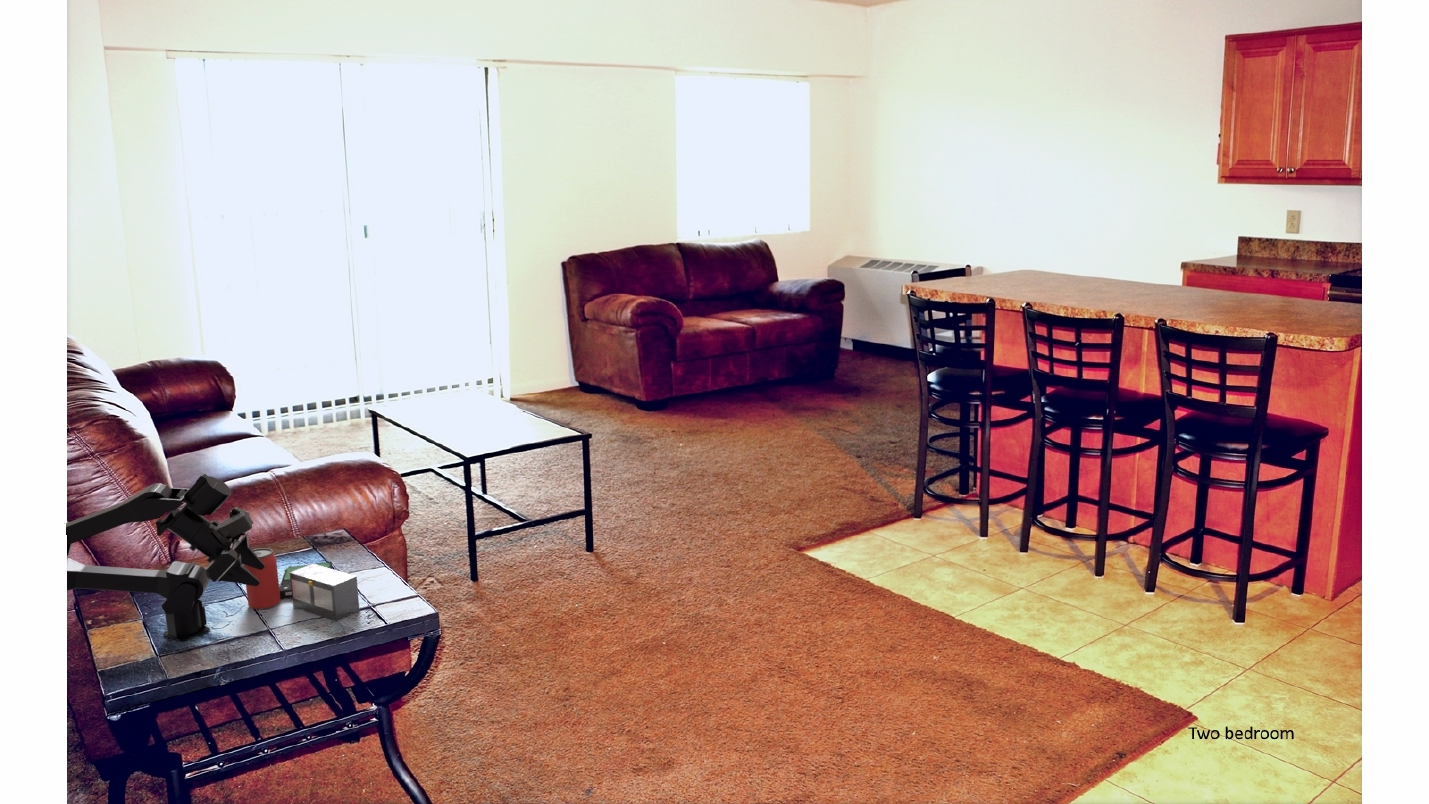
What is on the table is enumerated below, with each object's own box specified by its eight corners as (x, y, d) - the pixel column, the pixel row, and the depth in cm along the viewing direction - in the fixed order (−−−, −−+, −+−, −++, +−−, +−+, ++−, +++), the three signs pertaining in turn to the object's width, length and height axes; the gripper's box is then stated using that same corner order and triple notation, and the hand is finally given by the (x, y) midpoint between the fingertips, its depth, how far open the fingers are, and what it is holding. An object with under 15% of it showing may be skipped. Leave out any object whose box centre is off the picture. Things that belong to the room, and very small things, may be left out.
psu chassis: (335, 622, 223) (331, 586, 221) (291, 607, 230) (288, 573, 228) (359, 611, 228) (356, 576, 226) (316, 597, 235) (312, 563, 234)
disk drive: (329, 597, 237) (333, 571, 251) (327, 585, 236) (332, 560, 250) (279, 602, 234) (286, 576, 248) (277, 591, 234) (285, 565, 247)
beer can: (257, 597, 235) (251, 546, 233) (286, 598, 235) (280, 547, 232) (242, 610, 229) (236, 558, 226) (272, 611, 229) (266, 558, 226)
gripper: (217, 515, 206) (284, 563, 212) (230, 487, 223) (291, 532, 229) (177, 558, 205) (245, 604, 211) (193, 527, 223) (255, 570, 228)
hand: (261, 576), depth 220 cm, fingers open, 9 cm apart
